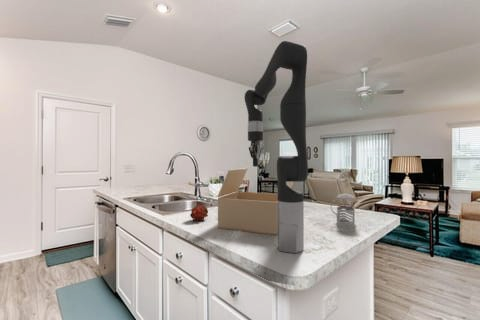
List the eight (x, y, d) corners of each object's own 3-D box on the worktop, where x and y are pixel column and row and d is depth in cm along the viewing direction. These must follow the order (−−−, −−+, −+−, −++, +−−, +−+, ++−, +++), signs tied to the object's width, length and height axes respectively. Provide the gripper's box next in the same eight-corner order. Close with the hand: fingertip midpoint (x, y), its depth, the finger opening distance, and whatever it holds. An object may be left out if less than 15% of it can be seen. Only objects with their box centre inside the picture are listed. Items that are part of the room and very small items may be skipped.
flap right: (277, 201, 101) (278, 201, 101) (288, 170, 99) (289, 170, 99) (288, 193, 123) (289, 194, 122) (297, 168, 121) (298, 168, 120)
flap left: (229, 170, 110) (228, 169, 110) (218, 197, 112) (217, 196, 112) (247, 168, 131) (247, 167, 131) (237, 190, 133) (237, 190, 134)
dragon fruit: (208, 220, 132) (193, 229, 122) (198, 210, 135) (182, 218, 125) (214, 209, 128) (199, 217, 118) (203, 199, 131) (188, 206, 121)
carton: (276, 235, 101) (276, 202, 101) (217, 228, 112) (217, 198, 112) (288, 221, 123) (288, 194, 123) (238, 216, 134) (238, 191, 134)
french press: (358, 228, 110) (358, 174, 110) (331, 226, 114) (331, 174, 114) (355, 223, 119) (355, 173, 119) (330, 221, 123) (330, 172, 123)
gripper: (258, 129, 110) (258, 167, 110) (266, 132, 123) (266, 166, 123) (243, 130, 113) (243, 166, 113) (252, 132, 125) (252, 166, 126)
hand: (255, 166), depth 118 cm, fingers closed
